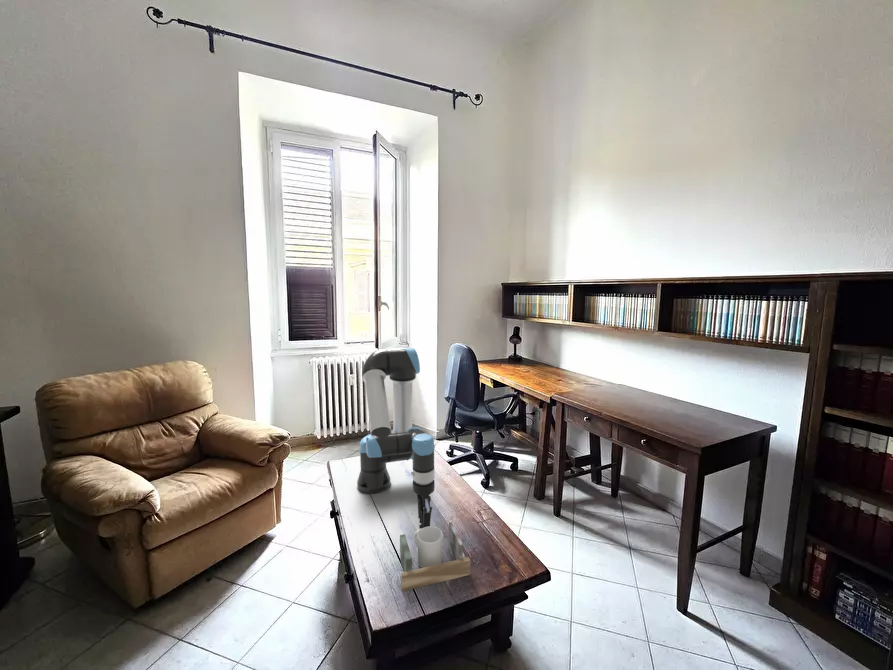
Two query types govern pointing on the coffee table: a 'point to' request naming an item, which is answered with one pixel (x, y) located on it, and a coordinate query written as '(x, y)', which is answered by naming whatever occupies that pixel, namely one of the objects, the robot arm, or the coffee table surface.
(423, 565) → the mug
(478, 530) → the coffee table surface
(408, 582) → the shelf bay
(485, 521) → the coffee table surface
